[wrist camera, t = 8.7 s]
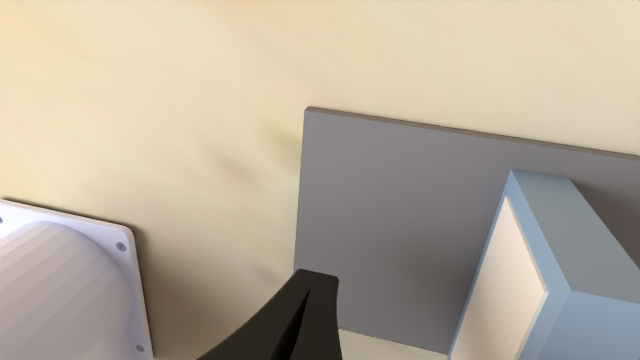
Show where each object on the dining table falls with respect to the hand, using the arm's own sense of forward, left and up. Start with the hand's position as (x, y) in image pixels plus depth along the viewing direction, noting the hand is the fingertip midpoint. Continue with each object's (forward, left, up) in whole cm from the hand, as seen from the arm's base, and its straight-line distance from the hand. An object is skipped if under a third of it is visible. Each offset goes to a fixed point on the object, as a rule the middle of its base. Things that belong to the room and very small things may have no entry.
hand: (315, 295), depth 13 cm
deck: (0, -6, -3) cm, 7 cm away
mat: (0, -6, -4) cm, 7 cm away
